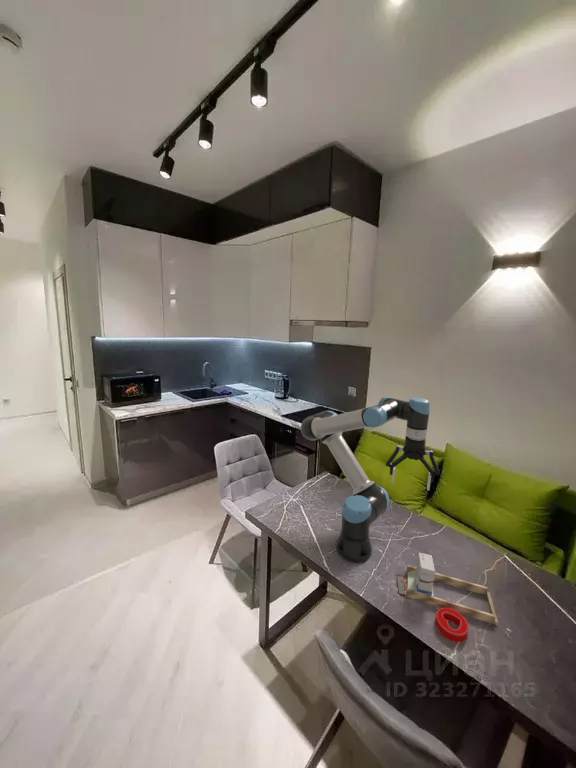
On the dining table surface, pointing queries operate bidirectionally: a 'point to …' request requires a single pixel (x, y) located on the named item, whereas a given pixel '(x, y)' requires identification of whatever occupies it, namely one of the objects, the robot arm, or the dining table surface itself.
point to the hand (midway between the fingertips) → (410, 485)
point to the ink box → (425, 574)
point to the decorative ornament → (456, 618)
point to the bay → (448, 604)
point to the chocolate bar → (402, 585)
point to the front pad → (413, 582)
